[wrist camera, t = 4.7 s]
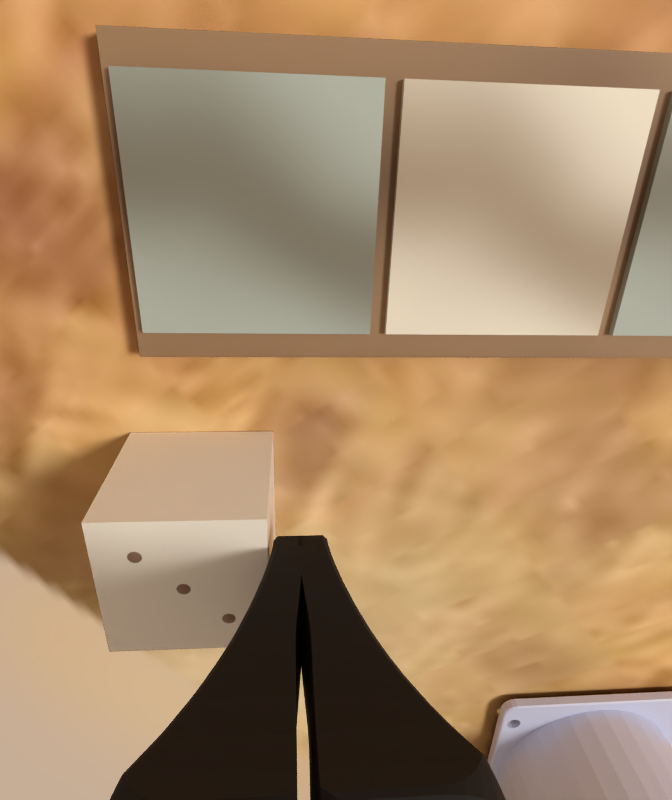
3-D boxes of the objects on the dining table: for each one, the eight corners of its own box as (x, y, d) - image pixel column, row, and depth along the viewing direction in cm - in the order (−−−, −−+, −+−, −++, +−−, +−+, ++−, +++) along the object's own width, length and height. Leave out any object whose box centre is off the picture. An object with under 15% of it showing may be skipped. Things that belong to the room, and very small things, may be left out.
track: (972, 351, 16) (1003, 361, 16) (145, 348, 14) (137, 359, 14) (1128, 79, 13) (1175, 76, 13) (104, 30, 11) (91, 23, 11)
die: (276, 541, 18) (271, 648, 14) (147, 544, 17) (108, 654, 14) (273, 431, 16) (267, 520, 12) (130, 432, 15) (80, 524, 12)
